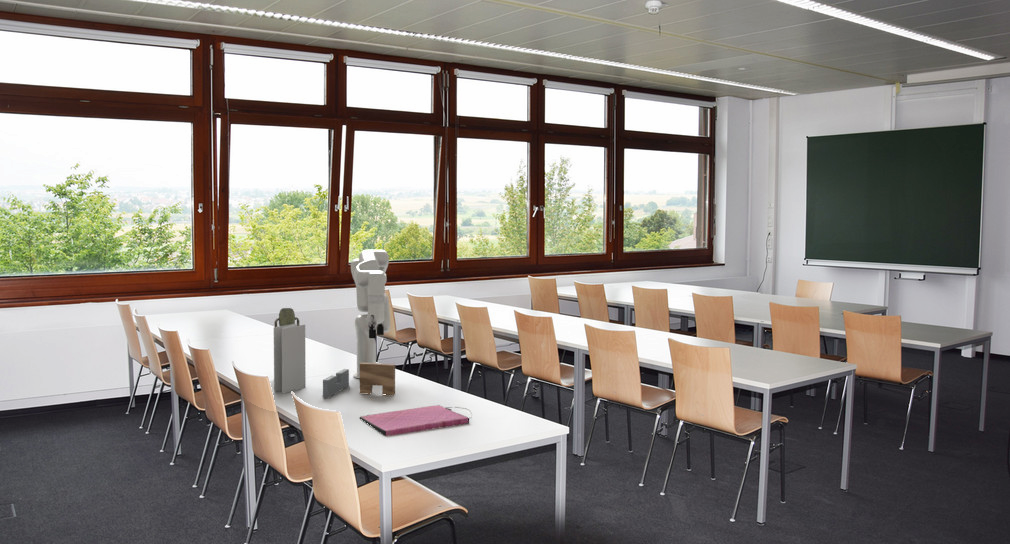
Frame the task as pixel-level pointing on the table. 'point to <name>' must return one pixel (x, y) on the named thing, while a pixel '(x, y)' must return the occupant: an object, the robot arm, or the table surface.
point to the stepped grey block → (335, 383)
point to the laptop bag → (414, 419)
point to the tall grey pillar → (289, 358)
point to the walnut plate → (377, 377)
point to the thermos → (286, 317)
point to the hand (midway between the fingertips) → (376, 336)
